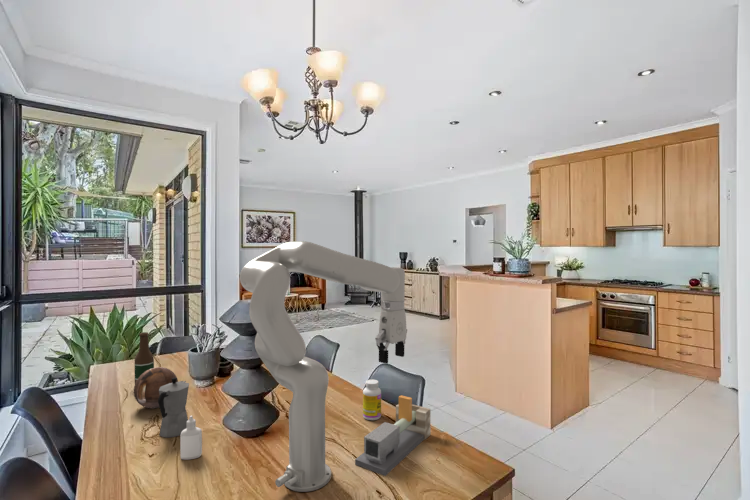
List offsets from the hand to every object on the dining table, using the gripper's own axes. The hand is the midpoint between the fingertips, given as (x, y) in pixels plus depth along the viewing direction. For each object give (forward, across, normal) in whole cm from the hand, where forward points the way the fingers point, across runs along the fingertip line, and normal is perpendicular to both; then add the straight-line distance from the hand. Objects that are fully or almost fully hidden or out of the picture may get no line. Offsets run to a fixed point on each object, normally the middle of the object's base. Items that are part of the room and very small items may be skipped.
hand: (391, 359), depth 123 cm
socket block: (+25, +8, -4) cm, 27 cm away
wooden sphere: (+27, -30, +88) cm, 97 cm away
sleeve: (+24, -11, -4) cm, 27 cm away
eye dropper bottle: (+27, -42, +43) cm, 66 cm away
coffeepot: (+27, -37, +62) cm, 77 cm away
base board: (+26, -5, -4) cm, 27 cm away
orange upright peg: (+22, 0, -4) cm, 22 cm away
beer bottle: (+27, -23, +114) cm, 120 cm away
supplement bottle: (+26, +10, +14) cm, 31 cm away
